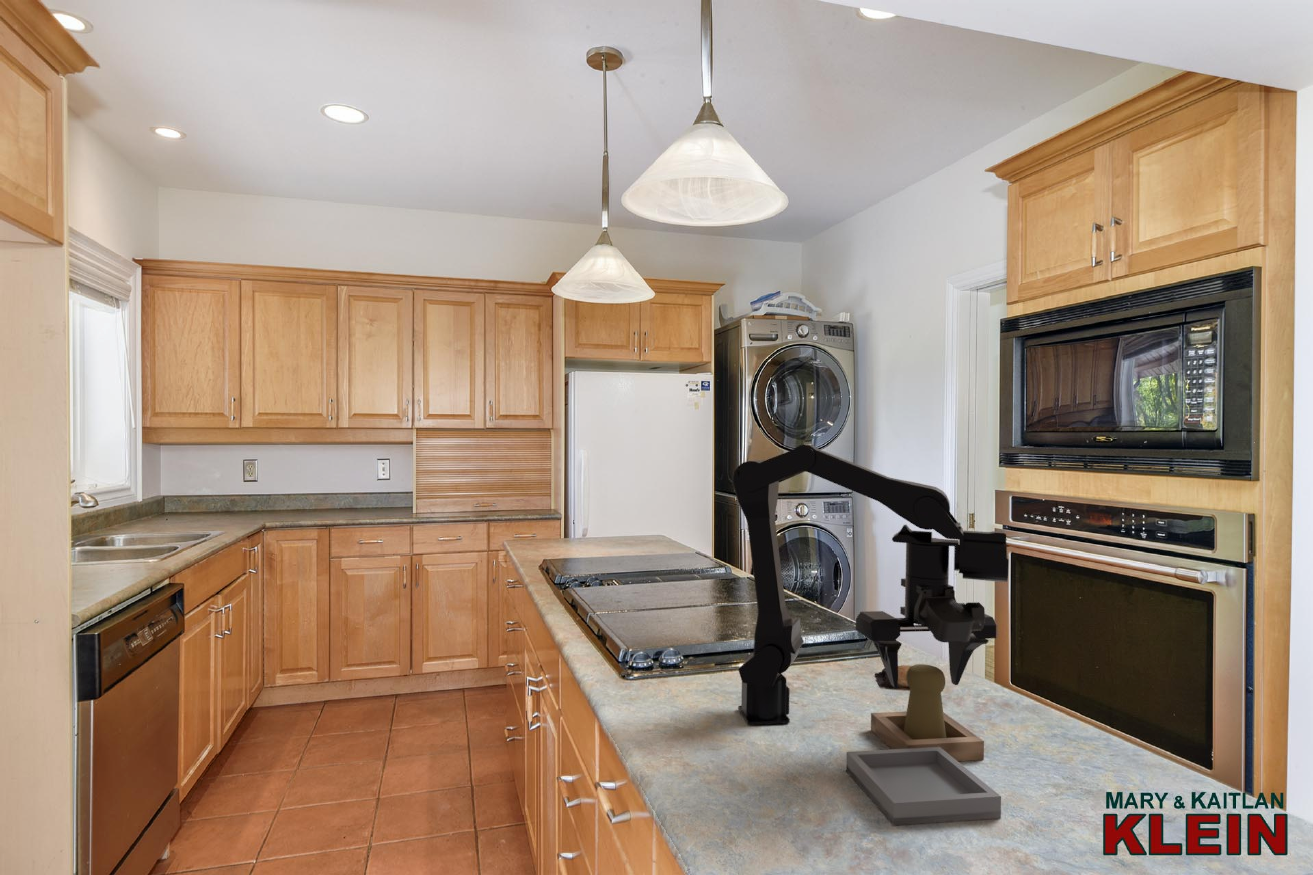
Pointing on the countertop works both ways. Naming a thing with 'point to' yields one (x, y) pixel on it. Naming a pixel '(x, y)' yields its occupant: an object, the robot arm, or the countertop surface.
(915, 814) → the tray
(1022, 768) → the countertop surface
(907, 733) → the cork
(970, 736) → the pin holder
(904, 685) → the bread roll
